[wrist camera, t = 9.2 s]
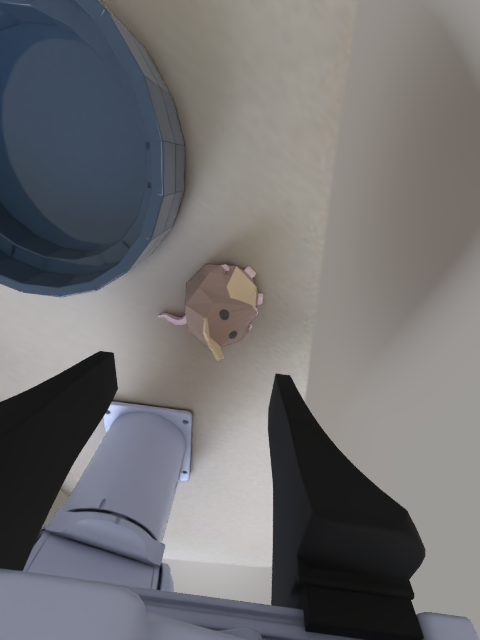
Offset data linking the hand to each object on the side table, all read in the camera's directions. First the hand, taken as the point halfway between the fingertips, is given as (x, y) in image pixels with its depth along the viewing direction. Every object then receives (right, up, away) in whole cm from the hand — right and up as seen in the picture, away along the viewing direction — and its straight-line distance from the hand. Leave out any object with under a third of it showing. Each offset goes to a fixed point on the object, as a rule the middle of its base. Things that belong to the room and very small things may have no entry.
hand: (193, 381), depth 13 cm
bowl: (-8, +12, +4) cm, 15 cm away
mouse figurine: (0, +4, +8) cm, 9 cm away
